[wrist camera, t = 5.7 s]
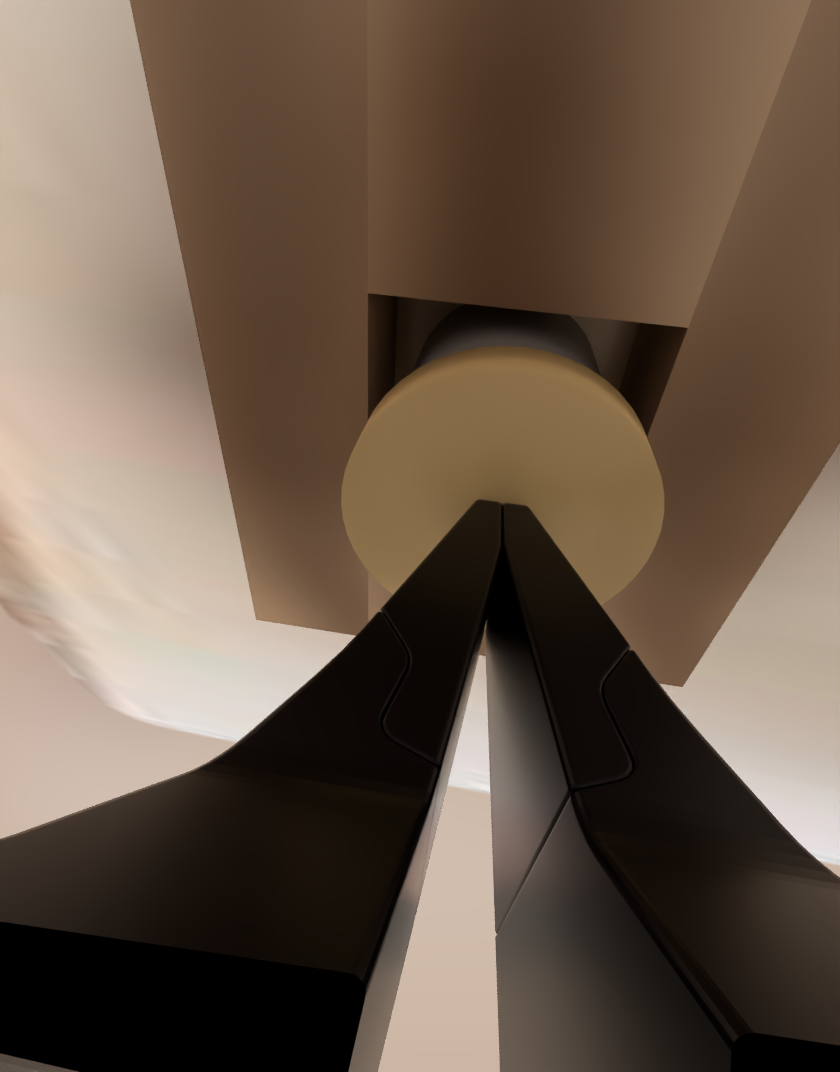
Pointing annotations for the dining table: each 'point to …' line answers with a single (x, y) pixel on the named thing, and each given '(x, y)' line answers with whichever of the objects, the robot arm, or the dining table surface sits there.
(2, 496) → the dining table surface
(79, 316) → the dining table surface
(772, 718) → the dining table surface
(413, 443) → the inner button
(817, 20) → the socket block
